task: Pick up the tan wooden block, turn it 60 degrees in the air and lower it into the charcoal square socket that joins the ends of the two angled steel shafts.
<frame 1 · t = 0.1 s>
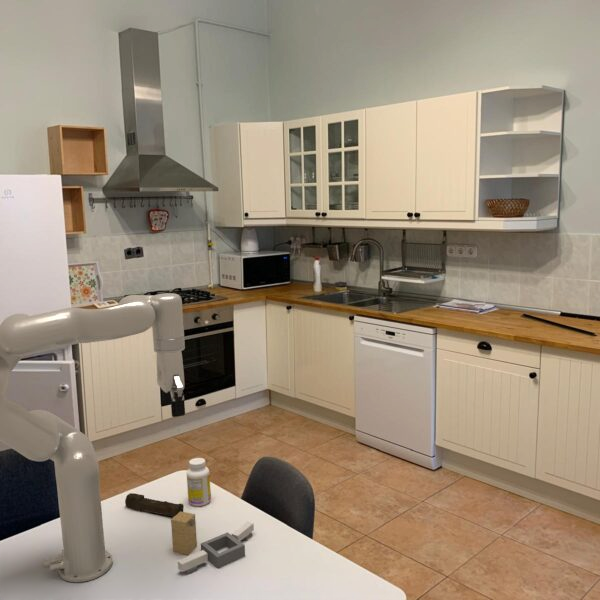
hand: (173, 409, 159), 37 cm above the table, tool pointing down, fingers open, 9 cm apart
supplement bottle: (199, 502, 187), on the table
socket: (223, 555, 159), on the table
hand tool: (152, 514, 181), on the table
tan wooden block: (185, 549, 162), on the table
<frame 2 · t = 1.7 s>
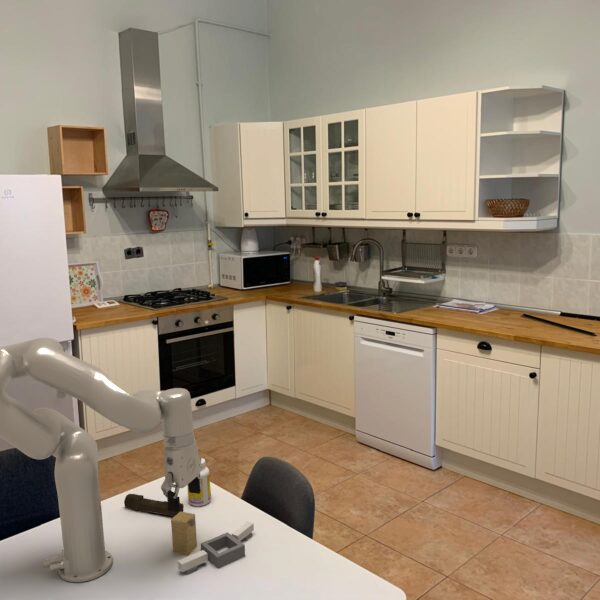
hand: (185, 501, 160), 13 cm above the table, tool pointing down, fingers open, 9 cm apart
nothing on the table moved.
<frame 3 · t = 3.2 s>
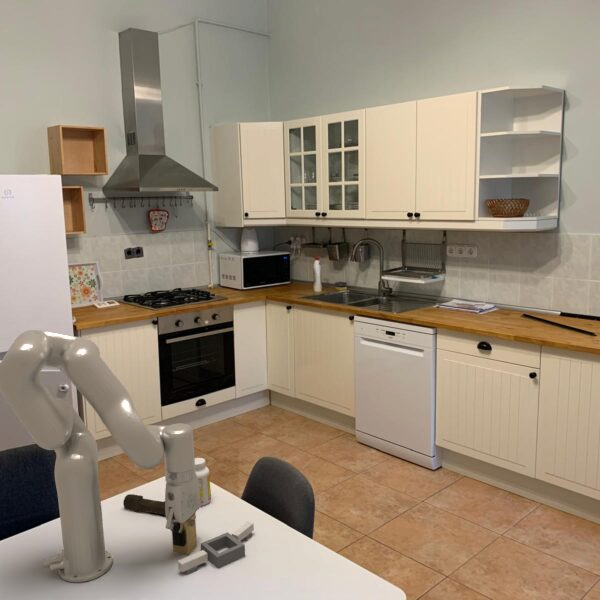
hand: (184, 539, 162), 3 cm above the table, tool pointing down, fingers closed on tan wooden block, 4 cm apart
tan wooden block: (185, 549, 162), on the table, touching gripper
everything else where it was.
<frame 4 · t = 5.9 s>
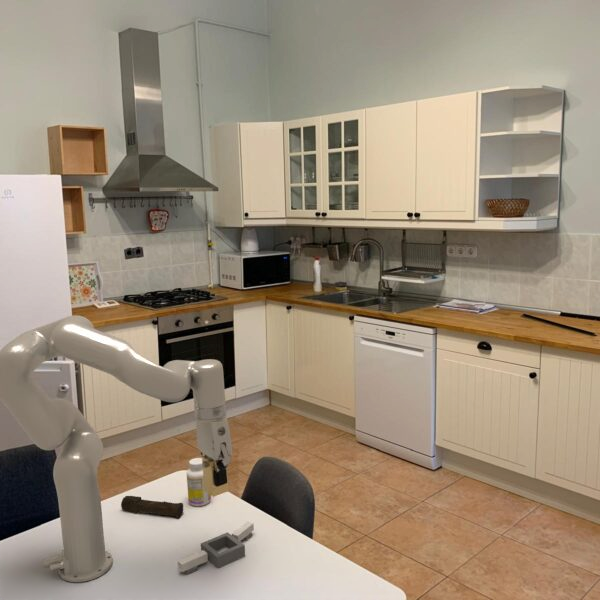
hand: (215, 480, 156), 20 cm above the table, tool pointing down, fingers closed on tan wooden block, 4 cm apart
tan wooden block: (216, 490, 157), point 17 cm above the table, touching gripper
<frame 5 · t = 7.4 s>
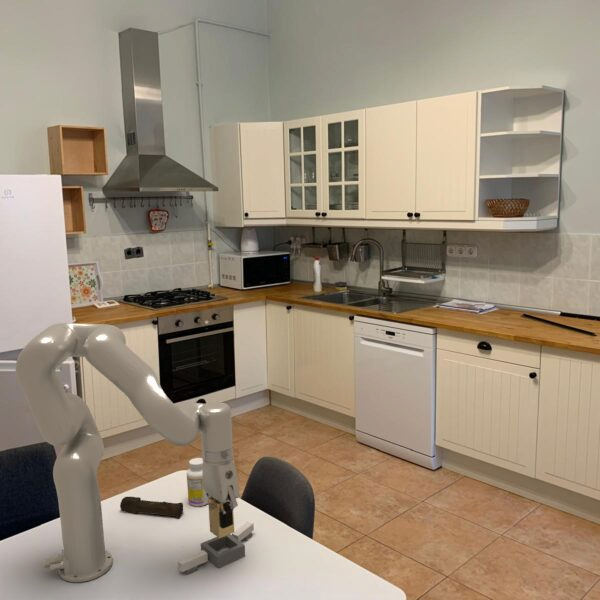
hand: (221, 521, 158), 9 cm above the table, tool pointing down, fingers closed on tan wooden block, 4 cm apart
tan wooden block: (222, 531, 158), point 6 cm above the table, touching gripper
when the fingers open (4 cm above the table, at t = 8.8 s): tan wooden block drops 1 cm, resting in socket.
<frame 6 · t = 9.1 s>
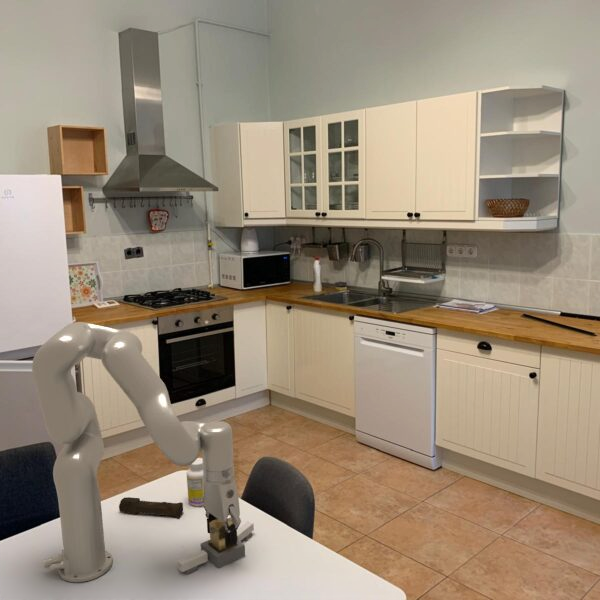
hand: (222, 537, 158), 5 cm above the table, tool pointing down, fingers open, 7 cm apart
tan wooden block: (223, 555, 159), resting in socket
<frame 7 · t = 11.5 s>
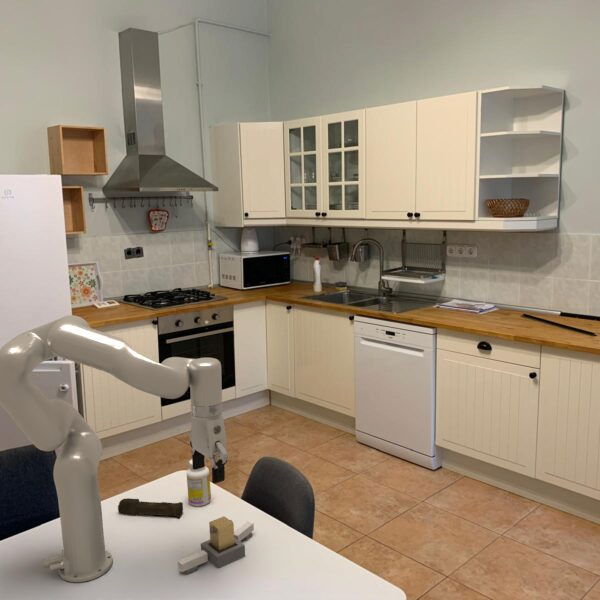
hand: (208, 474, 157), 21 cm above the table, tool pointing down, fingers open, 9 cm apart
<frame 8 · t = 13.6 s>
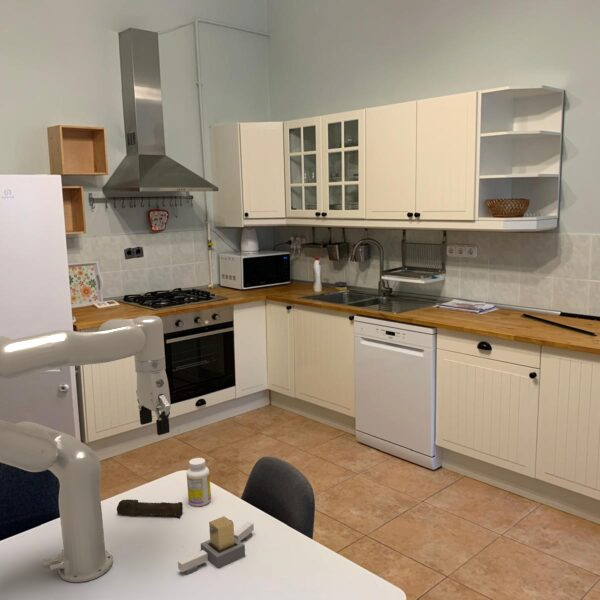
hand: (154, 428, 164), 30 cm above the table, tool pointing down, fingers open, 9 cm apart
at the end: tan wooden block 0.1 cm off-centre on the socket, point 0.0 cm above the socket's base; tan wooden block tilted 0°; the gripper is holding nothing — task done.
